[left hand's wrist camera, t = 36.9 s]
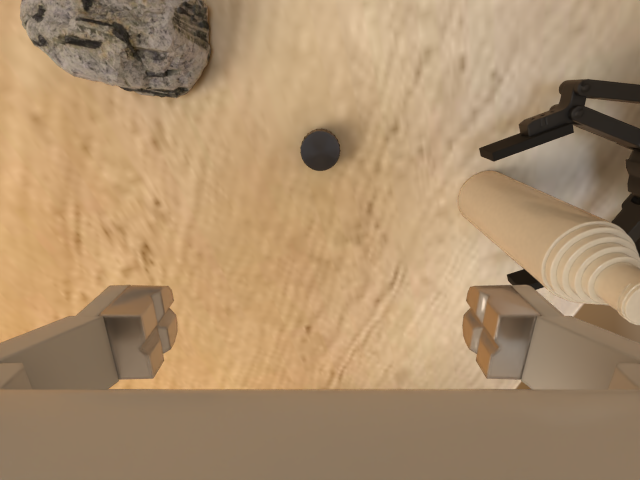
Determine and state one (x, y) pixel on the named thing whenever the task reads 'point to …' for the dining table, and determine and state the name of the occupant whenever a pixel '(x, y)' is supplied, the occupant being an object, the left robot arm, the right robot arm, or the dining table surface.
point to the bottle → (556, 242)
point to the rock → (124, 41)
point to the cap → (320, 150)
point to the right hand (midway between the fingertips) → (500, 224)
